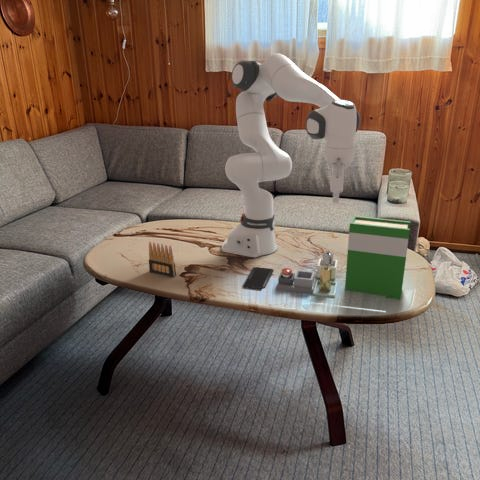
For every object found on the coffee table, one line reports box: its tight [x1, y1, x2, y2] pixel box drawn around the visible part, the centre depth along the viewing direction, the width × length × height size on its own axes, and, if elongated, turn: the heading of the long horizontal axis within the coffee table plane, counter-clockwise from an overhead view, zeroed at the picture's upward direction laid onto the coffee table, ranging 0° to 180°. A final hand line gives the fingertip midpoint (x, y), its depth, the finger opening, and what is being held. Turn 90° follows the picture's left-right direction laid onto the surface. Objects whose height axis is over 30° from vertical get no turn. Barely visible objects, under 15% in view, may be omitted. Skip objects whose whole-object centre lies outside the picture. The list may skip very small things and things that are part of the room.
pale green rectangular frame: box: [312, 279, 338, 298], centre depth 153 cm, size 7×9×1 cm
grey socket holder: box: [276, 269, 317, 295], centre depth 155 cm, size 12×8×5 cm, turn 74°
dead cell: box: [322, 251, 334, 267], centre depth 161 cm, size 4×4×9 cm
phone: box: [242, 266, 275, 291], centre depth 162 cm, size 8×1×15 cm
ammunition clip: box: [148, 241, 177, 278], centre depth 165 cm, size 11×2×12 cm, turn 63°
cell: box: [319, 267, 332, 293], centre depth 152 cm, size 4×4×9 cm
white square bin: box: [316, 257, 338, 280], centre depth 162 cm, size 6×6×5 cm
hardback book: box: [344, 215, 412, 301], centre depth 148 cm, size 18×7×24 cm, turn 69°
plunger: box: [281, 267, 293, 279], centre depth 155 cm, size 3×3×3 cm
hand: (335, 197), depth 149 cm, fingers open, 8 cm apart
